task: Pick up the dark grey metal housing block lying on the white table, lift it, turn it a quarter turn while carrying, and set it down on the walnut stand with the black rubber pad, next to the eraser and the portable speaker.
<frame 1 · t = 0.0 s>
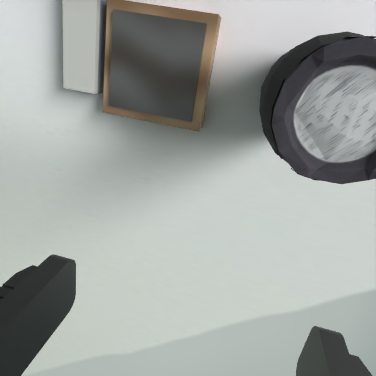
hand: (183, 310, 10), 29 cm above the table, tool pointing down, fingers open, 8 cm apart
stand: (161, 67, 35), on the table
portable speaker: (298, 91, 34), on the table
eraser: (92, 37, 36), on the table
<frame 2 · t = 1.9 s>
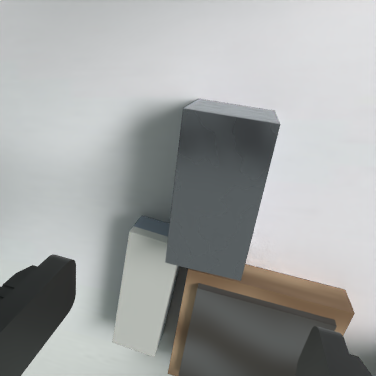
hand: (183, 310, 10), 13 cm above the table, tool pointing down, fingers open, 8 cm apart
housing: (223, 174, 22), on the table
stand: (249, 324, 26), on the table
eraser: (154, 276, 27), on the table
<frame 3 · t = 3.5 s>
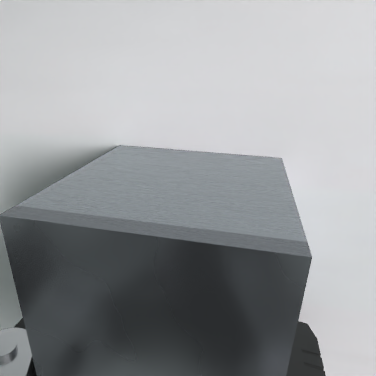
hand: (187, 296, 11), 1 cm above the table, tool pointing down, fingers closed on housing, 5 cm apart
housing: (191, 283, 11), on the table, touching gripper
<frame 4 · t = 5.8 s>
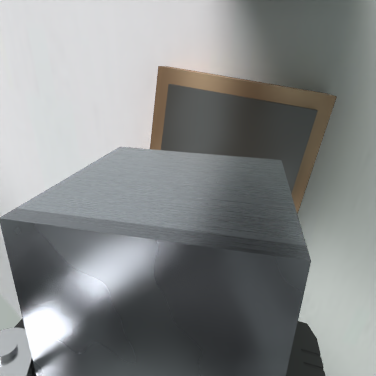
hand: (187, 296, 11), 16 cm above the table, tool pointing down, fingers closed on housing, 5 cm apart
housing: (191, 284, 11), point 15 cm above the table, touching gripper
stand: (228, 156, 25), on the table
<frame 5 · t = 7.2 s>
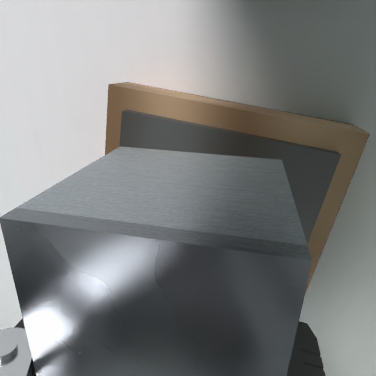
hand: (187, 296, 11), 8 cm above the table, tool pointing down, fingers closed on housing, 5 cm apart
housing: (191, 284, 11), point 8 cm above the table, touching gripper
stand: (213, 203, 18), on the table
when the fingers open (4 cm above the table, at t = 8.4 s): housing stays where it is, resting on stand.
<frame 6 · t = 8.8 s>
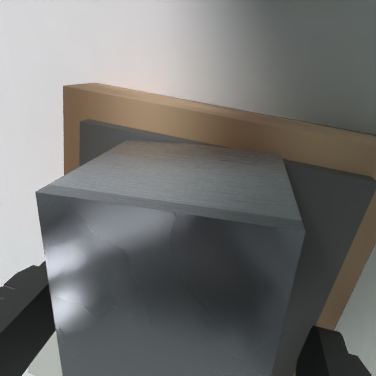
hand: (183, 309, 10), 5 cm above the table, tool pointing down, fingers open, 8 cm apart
housing: (193, 269, 12), point 3 cm above the table, touching stand
stand: (206, 233, 15), on the table
eraser: (149, 345, 19), on the table
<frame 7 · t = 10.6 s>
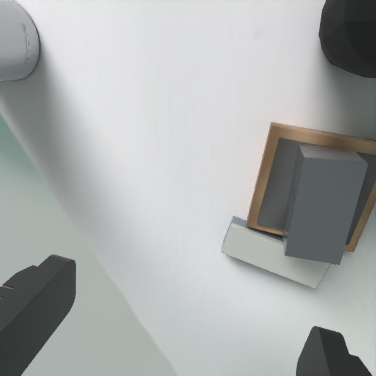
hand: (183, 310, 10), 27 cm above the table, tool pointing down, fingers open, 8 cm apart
housing: (314, 193, 31), point 3 cm above the table, touching stand
stand: (311, 184, 34), on the table
portable speaker: (362, 26, 28), on the table
eraser: (272, 244, 38), on the table
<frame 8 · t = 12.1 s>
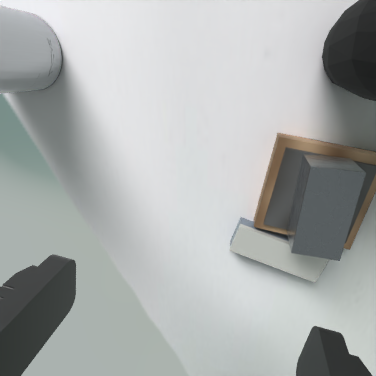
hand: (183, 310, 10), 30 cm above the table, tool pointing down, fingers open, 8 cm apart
housing: (316, 196, 35), point 3 cm above the table, touching stand
stand: (312, 188, 38), on the table
portable speaker: (360, 51, 32), on the table
eraser: (276, 242, 42), on the table
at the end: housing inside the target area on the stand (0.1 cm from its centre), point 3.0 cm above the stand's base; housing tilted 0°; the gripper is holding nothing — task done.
